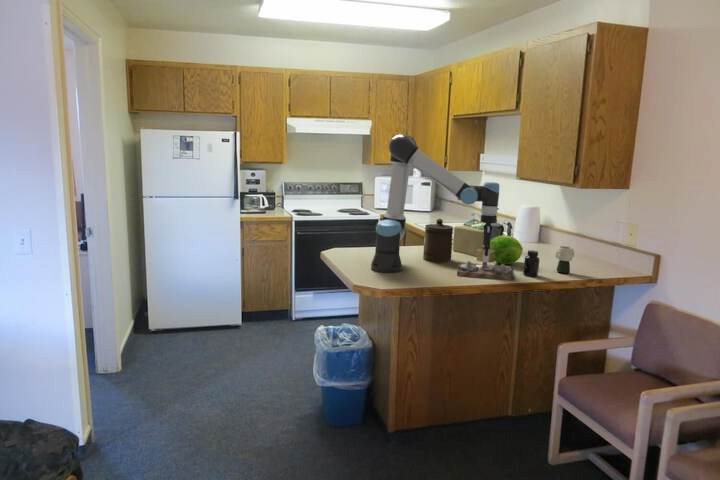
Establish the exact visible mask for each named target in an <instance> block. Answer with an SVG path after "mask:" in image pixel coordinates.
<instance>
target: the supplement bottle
mask: <svg viewBox="0 0 720 480" xmlns="http://www.w3.org/2000/svg"><path fill="white" fill-rule="evenodd" d="M538 256H539V251H537V250H532V249H531V250H527V255H526V256H525V257H524V265H523V273H522V274H523V275H524V276H525V277H530V278H536V277H538V276H539V266H540V257H538Z"/></svg>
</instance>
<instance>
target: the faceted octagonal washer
mask: <svg viewBox="0 0 720 480" xmlns="http://www.w3.org/2000/svg"><path fill="white" fill-rule="evenodd" d="M483 250H484V249H477V257H476V261H477V262H479V263H480V262H481V263H483ZM494 255H495V251H494V250H490V249H489V260H488V262H487V264H490V263H494V262H495V260H494Z"/></svg>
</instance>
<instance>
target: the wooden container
mask: <svg viewBox="0 0 720 480" xmlns="http://www.w3.org/2000/svg"><path fill="white" fill-rule="evenodd" d="M443 222H444V220H443V219H442V218H438V219H436V223H429V224H425V229H424V240H423V241H424V242H423V256H422V258H423V259H422V260H425V261H427V262H431V263H443V264H444V263H449V262H451V261H452V253H453V252H452V251H453V236H454V227H453V226H451V225H447V224H444V223H443Z"/></svg>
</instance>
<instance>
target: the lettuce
mask: <svg viewBox="0 0 720 480" xmlns="http://www.w3.org/2000/svg"><path fill="white" fill-rule="evenodd" d="M490 250H494V251H495V255H494V262H496V263H498V264H500V265H501V264H504V265H511V264H513V263H515V262H517V261H518V260H519V259H520V258H521V256H522V254H523V251H524V249H523V246H522V244H521V242H519V240H518V239H517V238H516V237H513V236H511V235H506V234H505V235H504V234H503V235H501V236H497V237H495V238H493V239H492V240H491V241H490Z"/></svg>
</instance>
